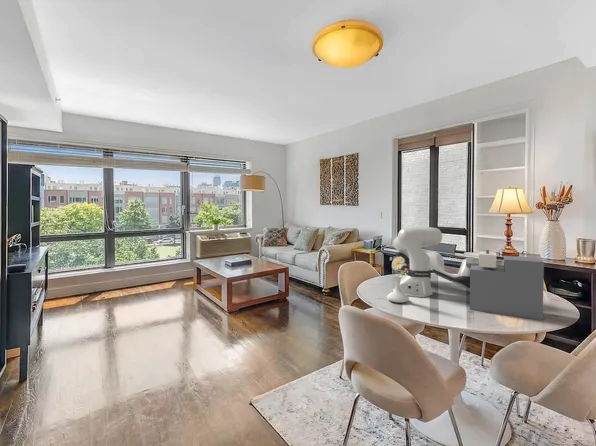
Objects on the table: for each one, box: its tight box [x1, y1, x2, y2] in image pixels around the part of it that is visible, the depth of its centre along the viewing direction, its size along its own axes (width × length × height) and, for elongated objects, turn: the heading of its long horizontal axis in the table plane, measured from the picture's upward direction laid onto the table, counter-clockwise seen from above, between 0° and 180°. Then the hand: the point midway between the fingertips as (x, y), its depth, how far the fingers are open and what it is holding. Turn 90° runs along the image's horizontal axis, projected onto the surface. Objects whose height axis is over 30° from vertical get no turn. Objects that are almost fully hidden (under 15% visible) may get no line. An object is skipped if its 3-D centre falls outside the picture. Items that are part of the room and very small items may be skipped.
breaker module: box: [478, 249, 497, 268], centre depth 150 cm, size 19×7×8 cm, turn 148°
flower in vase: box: [386, 256, 410, 303], centre depth 159 cm, size 13×11×25 cm
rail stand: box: [469, 255, 545, 321], centre depth 143 cm, size 12×28×26 cm, turn 57°
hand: (487, 258), depth 155 cm, fingers closed on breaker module, 3 cm apart
